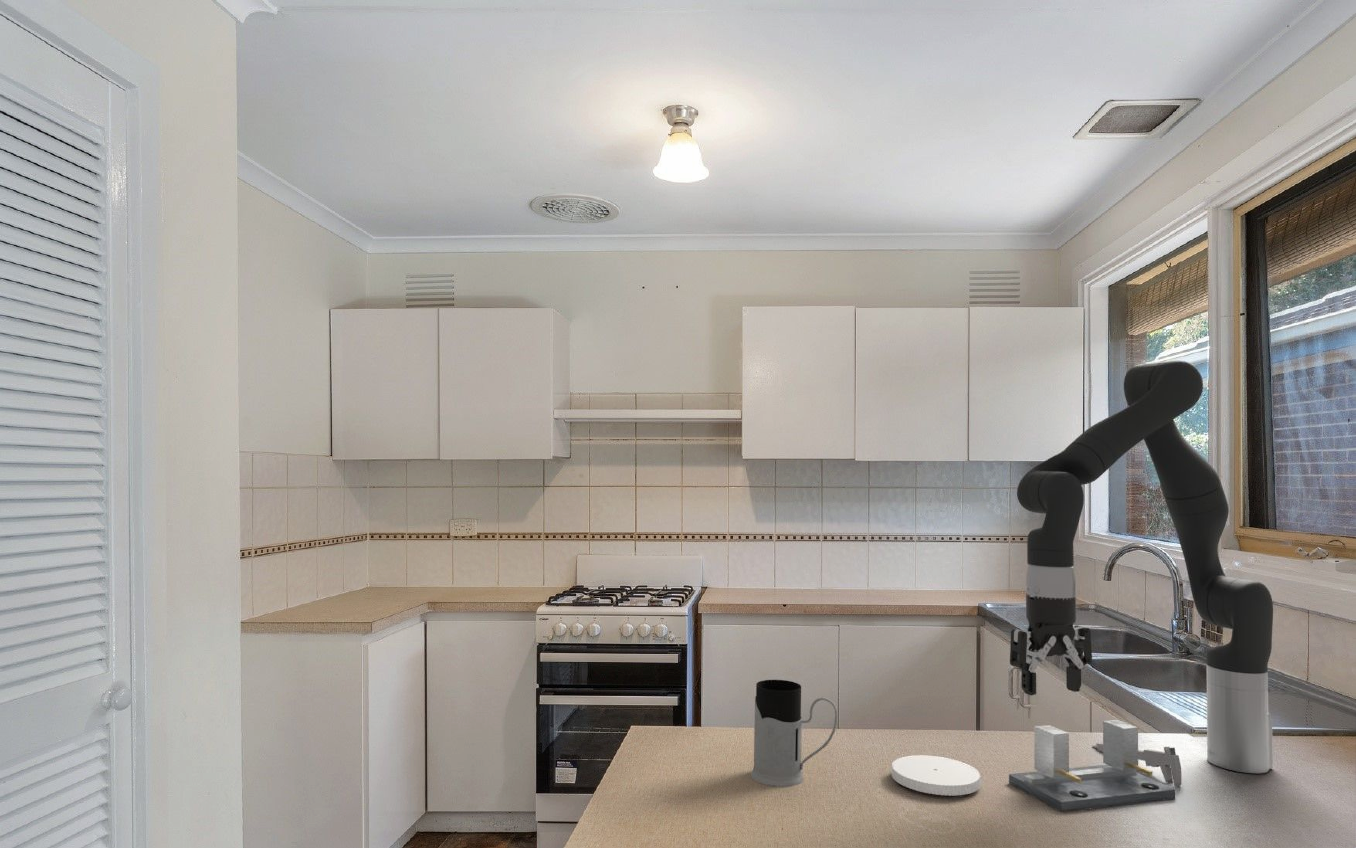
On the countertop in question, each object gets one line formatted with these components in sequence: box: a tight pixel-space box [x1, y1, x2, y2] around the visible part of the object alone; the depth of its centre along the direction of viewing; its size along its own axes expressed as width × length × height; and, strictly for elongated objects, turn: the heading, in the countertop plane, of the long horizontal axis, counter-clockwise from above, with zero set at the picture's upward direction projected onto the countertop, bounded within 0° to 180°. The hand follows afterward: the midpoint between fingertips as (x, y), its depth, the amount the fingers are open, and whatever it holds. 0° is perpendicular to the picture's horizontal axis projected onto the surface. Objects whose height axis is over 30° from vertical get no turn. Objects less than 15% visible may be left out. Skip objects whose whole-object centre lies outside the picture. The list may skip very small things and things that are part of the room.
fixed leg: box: [1102, 719, 1154, 776], centre depth 140 cm, size 3×8×7 cm, turn 17°
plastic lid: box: [891, 754, 982, 797], centre depth 139 cm, size 14×14×2 cm
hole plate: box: [1008, 764, 1176, 813], centre depth 137 cm, size 22×12×2 cm, turn 107°
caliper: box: [1091, 742, 1183, 787], centre depth 150 cm, size 20×1×6 cm, turn 12°
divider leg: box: [1033, 724, 1081, 783], centre depth 136 cm, size 3×8×7 cm, turn 17°
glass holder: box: [750, 679, 838, 788], centre depth 140 cm, size 9×14×15 cm, turn 70°
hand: (1051, 692), depth 138 cm, fingers open, 8 cm apart
